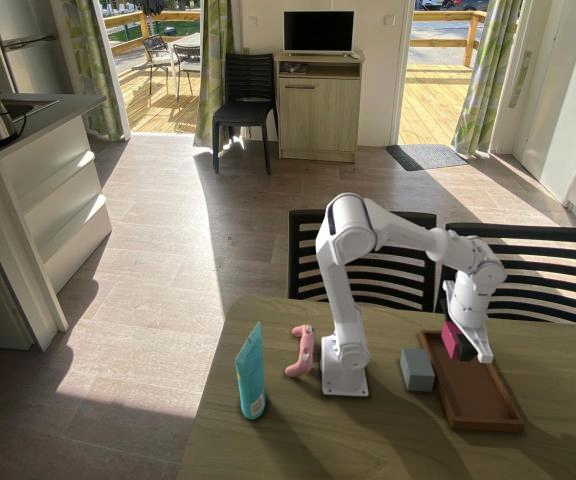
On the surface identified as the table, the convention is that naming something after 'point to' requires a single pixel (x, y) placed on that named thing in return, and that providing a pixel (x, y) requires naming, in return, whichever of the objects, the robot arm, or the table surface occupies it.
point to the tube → (251, 375)
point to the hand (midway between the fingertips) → (457, 345)
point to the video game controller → (303, 351)
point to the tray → (470, 390)
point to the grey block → (417, 369)
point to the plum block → (451, 339)
